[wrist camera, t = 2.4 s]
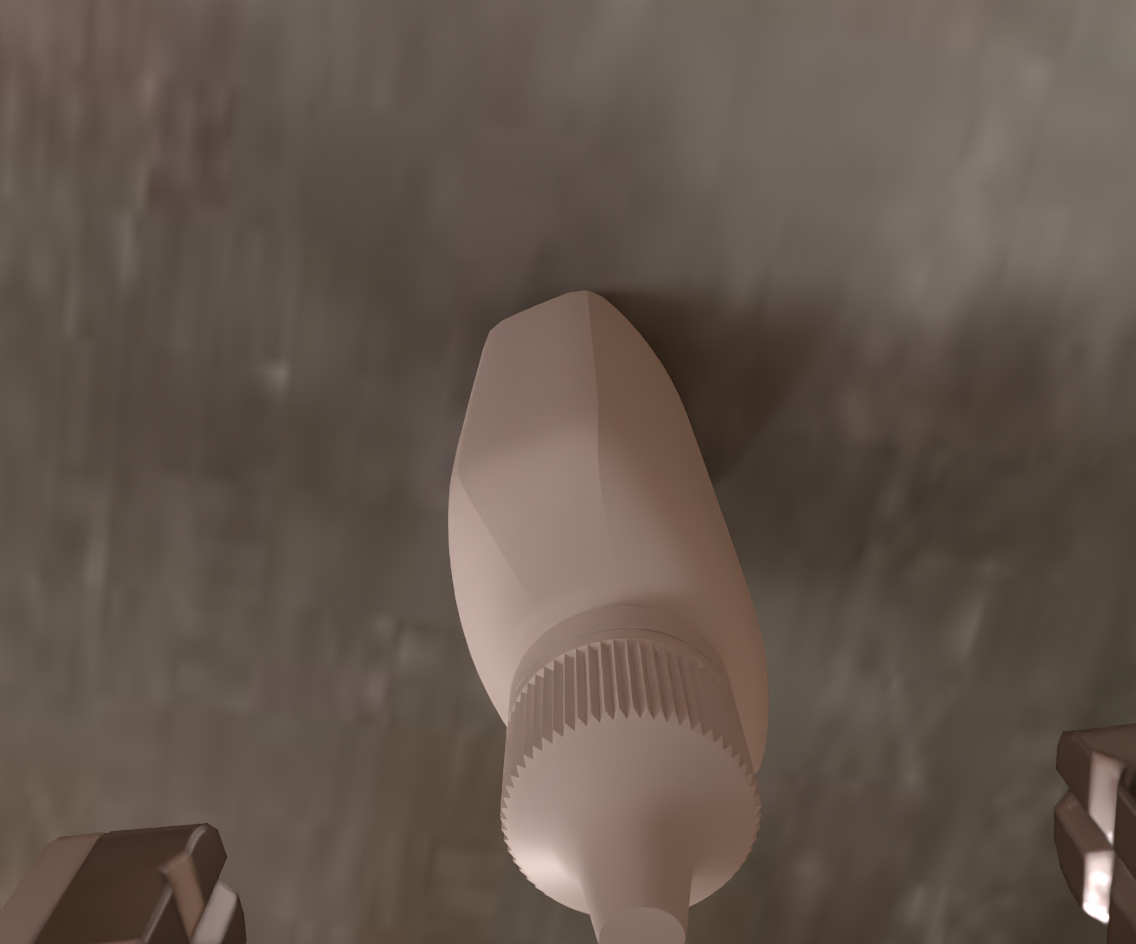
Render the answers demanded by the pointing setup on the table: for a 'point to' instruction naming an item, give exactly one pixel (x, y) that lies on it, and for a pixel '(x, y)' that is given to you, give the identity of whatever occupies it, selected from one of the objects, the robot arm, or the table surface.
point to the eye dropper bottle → (606, 622)
